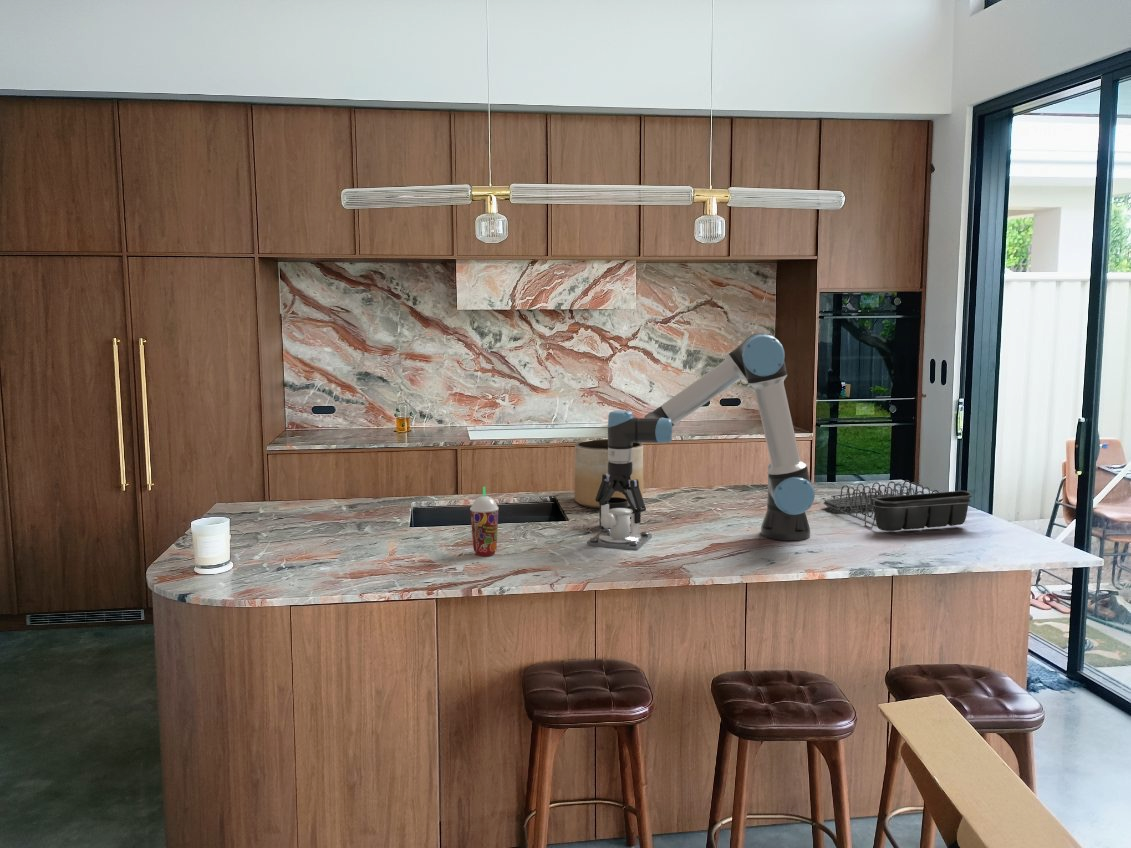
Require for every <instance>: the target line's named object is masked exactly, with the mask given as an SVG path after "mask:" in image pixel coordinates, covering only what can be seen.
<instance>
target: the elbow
mask: <svg viewBox="0 0 1131 848" xmlns="http://www.w3.org/2000/svg"><path fill="white" fill-rule="evenodd" d="M631 513H632V509H626V508H613V509H610V510H609V513H607V514H603V515H602V516H601V524H602V526H603V527H604V528H606V529H607V528H610V537H612V538H619V539H622V538H628V537H630V532H631V519H630V517H631Z"/></svg>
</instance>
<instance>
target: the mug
mask: <svg viewBox="0 0 1131 848" xmlns="http://www.w3.org/2000/svg"><path fill="white" fill-rule="evenodd" d="M607 504H609V510H610V509H613V508H626V509H630V510H632V508H631V506H628V501H627V499H625V498H619V497H611V498H610V500H609V501H608V503H607ZM598 510H599V516H598V517H599V519H598V520H599V523H598V524H599V525H598V526H599V528H600V529H602V530H603V529H605V528H604V527H603V526H601V514H600V504H599V509H598ZM630 520H631V516H630ZM608 529H610V528H608Z"/></svg>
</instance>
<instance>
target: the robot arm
mask: <svg viewBox="0 0 1131 848" xmlns="http://www.w3.org/2000/svg"><path fill="white" fill-rule="evenodd" d="M785 358H786V357H785V348H784V347H783V344H782V343H781V342H780V341H779V339H777V338H776V337H775V336H773V335H771V334H767V333H766V334H765V333H762V332H761V333H754V334H751V335H749V336H748V337H746V338H745V339H744V340H743V341H742V342H741V343H740V344H739V345H738V346H737V347H736V348H734V349H733V350H732V351H730V352H729V353H728V354H727V356H726V359H725V360H723V361H721V363H719V364H718V365H716V366H715V367H714V368H712V369H710V370H709V371H708V372H707V373H705V374H704V375H702V376H701V377H700V378H699V377H698V379H697V380H695V381H694V382H692V383H691V384H690V385H688V386H687V387H685V388H684V389H682V390H681V391H680V392H678V393H677V394H676V395H674V396H672V397H671V398H670V399H668V400H666V401H665V402H664V403H663V404H662V405H660V406H659V407H657V408H656V409H654V410H653V411H649V412H648V413H647V414H646V415H644V417H635V416H634V413H633V412H632V411H631V410H621V409H620V410H612V411H610V412H609V413H608V419H607V439H608V460H609V461H610V462H609V463H608V474H603V475H602V482H601V485H600V488H599V490H598V493H597V496H596V499H595V501H596V502H599V504H600V514H601V516H602V515H603V514H607V513H609V504H607V503H608V501H609V500H610V498H611V497H612V495H613V494H614V492H615V491H618V492H622V494H623V495H625V497H626V499H627V501H628V503H629V505H630V506H631V508H632V509H631V514H630V517H631V519H630V532H631V534H637V533H640V524H641V520H642V519H641V517H642V516H641V513H643V512H646V510H647V508H646V505H645V501H644V497H643V498H642V495H641V492H640V489H639V481H638V480H637V479H636V480H631V478H630V476H631V474H632V462H631V461H632V460H633V448H632V447H633V445H632V444H633V442H637V443H638V442H640V443H652V444H666V443H671V442H672V440H673V427H674V426H675V425H677V424H678V423H680V422H681V421H682V420H684V419H686V418H687V417H688V416H690V415H691V414H693V413H694V412H696V411H697V410H699V409H700V408H701V407H703V406H704V405H705V404H707V403H708V402H710V401H712V400H713V399H714V398H716V397H717V396H718V395H720V394H721V393H722V392H724V391H726V390H727V389H729V388H731V386H733V385H735V384H736V383H737V382H738V381H740V380H746V382H747V384H748V385H749V386H750V387H752V388H753V389H754V393H755V397H756V398H755V399H756V401H757V402H756V403H757V406H758V411H759V416H760V419H761V425H762V429H763V432H764V433H763V434H764V439H765V442H766V447H767V452H768V456H769V461H770V464H769V465H768V469H767V472H766V473H767V496H766V497H767V501H766V502H767V507H766V513H765V515H764V518H763V520H762V524H761V526H760V534H761V536H763V537H765V538H769V539H772V540H773V539H774V540H779V541H801V540H806V539H809V538H810V536H811V528H810V524H809V520H808V517H807V514H806V512H807V511H809V510H810V508H812V505H813V504H814V501H815V495H816V491H815V488H814V487H813V485H812V482H811V479H810V473H809V469H808V465H807V463H806V462H804V461H802V460H801V457H800V453H799V449H798V444H797V439H796V434H795V430H794V424H793V420H792V416H791V412H790V407H789V402H788V401H789V400H788V397H787V393H786V388H785V383H784V381H785V380H786V378H787V377H788V372H787V368H786V367H787V366H786V362H785ZM609 483H610V485H609ZM601 526H602V524H601Z"/></svg>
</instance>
